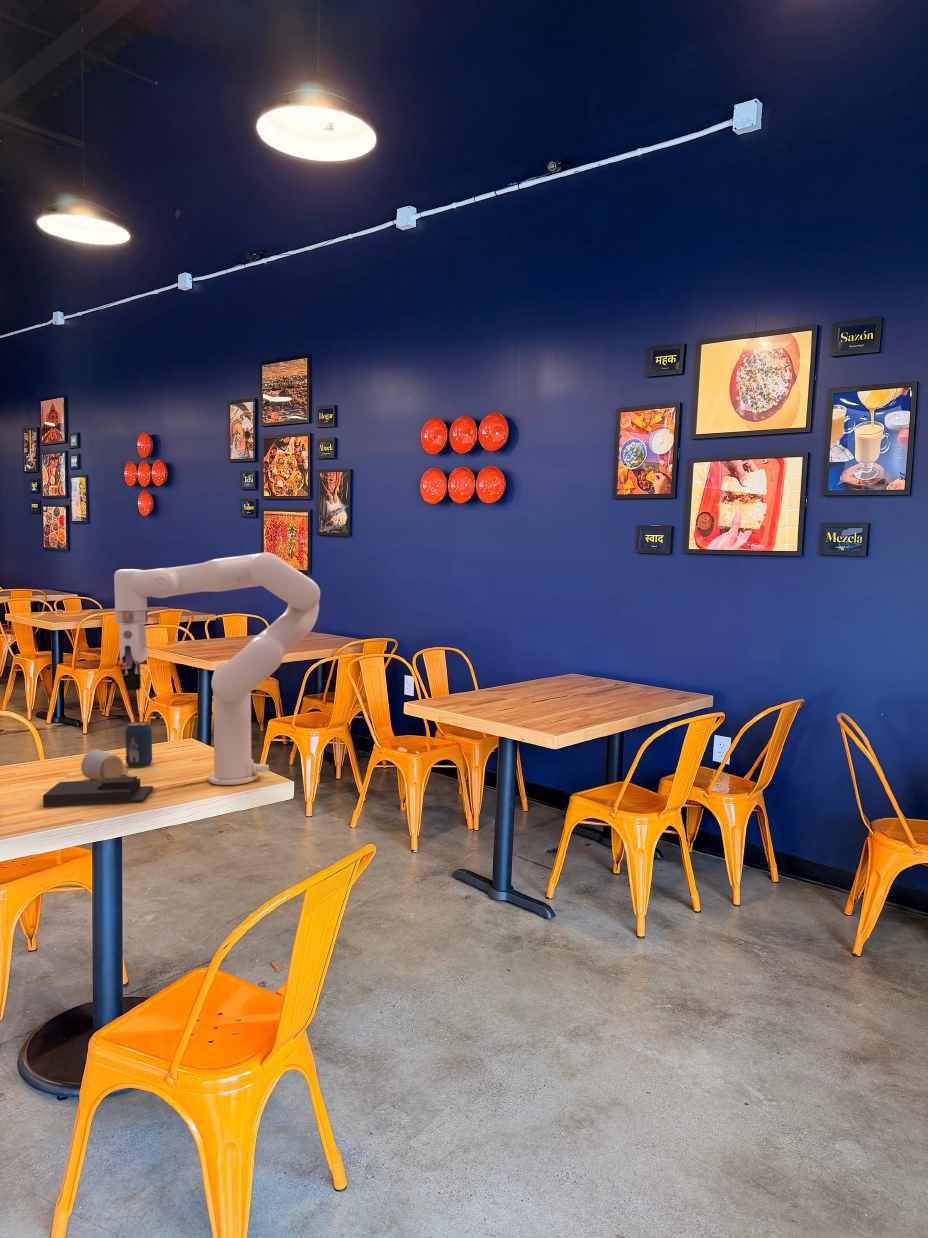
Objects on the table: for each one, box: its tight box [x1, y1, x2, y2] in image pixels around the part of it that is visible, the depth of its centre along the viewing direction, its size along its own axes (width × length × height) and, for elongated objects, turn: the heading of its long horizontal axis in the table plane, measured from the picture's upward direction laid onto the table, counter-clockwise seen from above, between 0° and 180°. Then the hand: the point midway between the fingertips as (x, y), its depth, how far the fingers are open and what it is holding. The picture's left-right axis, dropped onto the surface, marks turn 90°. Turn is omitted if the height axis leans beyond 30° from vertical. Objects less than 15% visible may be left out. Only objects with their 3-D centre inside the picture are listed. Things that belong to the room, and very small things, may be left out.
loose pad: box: [102, 775, 138, 796], centre depth 195 cm, size 7×5×4 cm
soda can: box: [124, 721, 153, 769], centre depth 225 cm, size 7×7×12 cm
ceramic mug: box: [80, 749, 129, 780], centre depth 211 cm, size 11×8×8 cm
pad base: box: [42, 778, 154, 808], centre depth 194 cm, size 22×12×3 cm, turn 100°
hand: (133, 689), depth 203 cm, fingers closed
